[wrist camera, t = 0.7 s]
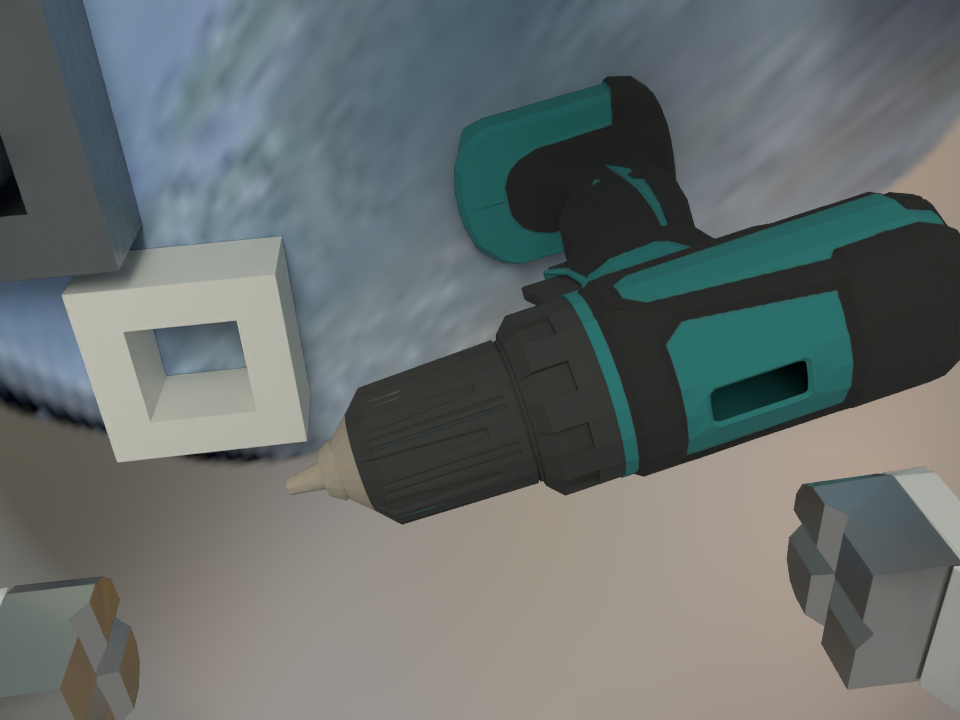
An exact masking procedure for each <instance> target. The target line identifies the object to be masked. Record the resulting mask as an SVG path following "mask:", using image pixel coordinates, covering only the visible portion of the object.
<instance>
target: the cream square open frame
mask: <svg viewBox="0 0 960 720" xmlns="http://www.w3.org/2000/svg"><path fill="white" fill-rule="evenodd" d="M62 298H63V301H64V304H65V307H66V310H67V313H68V316H69V319H70V322H71V325H72V328H73V331H74V334H75V337H76V340H77V343H78V346H79V349H80V352H81V355H82V358H83V361H84V364H85V367H86V370H87V373H88V376H89V379H90V382H91V385H92V388H93V391H94V394H95V397H96V400H97V403H98V406H99V409H100V412H101V415H102V418H103V421H104V424H105V427H106V430H107V433H108V436H109V439H110V442H111V445H112V448H113V451H114V454H115V457H116V460H117V462H126V461H135V460H143V459H152V458H162V457H171V456H180V455H189V454H197V453H206V452H215V451H224V450H233V449H242V448H251V447H260V446H269V445H278V444H287V443H296V442H305V441H307V435H308V421H309V408H310V389H309V384H308V378H307V373H306V367H305V362H304V356H303V351H302V345H301V340H300V334H299V329H298V323H297V318H296V312H295V307H294V301H293V296H292V290H291V285H290V279H289V274H288V268H287V263H286V257H285V252H284V246H283V241H282V236H280V237H269V238H259V239H248V240H237V241H227V242H216V243H206V244H195V245H185V246H174V247H164V248H153V249H143V250H132V251H128V253H127V255H126V257H125V259H124V261H123V263H122V265H121V267H120V269H119V271H115V272H104V273H94V274H84V275H73V277H72V279H71V280H70V282H69V284H68V285H67V287H66V289H65V290H64V292H63V294H62ZM227 321H237V325H238V330H239V334H240V339H241V343H242V348H243V352H244V357H245V361H246V366H247V368H239V369H229V370H220V371H210V372H201V373H191V374H181V375H172V376H166V374H165V371H164V367H163V363H162V360H161V356H160V353H159V349H158V346H157V342H156V338H155V335H154V331H153V329H158V328H168V327H178V326H188V325H198V324H208V323H217V322H227Z"/></svg>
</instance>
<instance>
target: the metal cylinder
mask: <svg viewBox="0 0 960 720" xmlns="http://www.w3.org/2000/svg"><path fill="white" fill-rule="evenodd" d="M13 173H14V172H13V169H12V166H11V163H10V161H9V158H8V155H7V152H6V149H5V146H4V143H3V140H2V137H1V134H0V187H1V186H2V185H3V184H4V183H5V182H6V181H7V180H8V178H9V177H10V176H11V175H12V174H13Z"/></svg>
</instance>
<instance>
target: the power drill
mask: <svg viewBox="0 0 960 720" xmlns="http://www.w3.org/2000/svg"><path fill="white" fill-rule="evenodd" d="M458 149H459V153H458V156H457V160H456V163H455V167H454V181H455V195H456V200H457V205H458V210H459V213H460V216H461V218H462V221H463V224H464V226H465V229H466V230H467V232H468V234H469V236H470V237H471V239H472V241H473V242H474V244H475V246H476V247H477V248H479V249H480V250H481V251H483V252H484V253H485V254H487V255H488V256H490V257H492V258H494V259H496V260H498V261H501V262H503V263H515V264H521V263H524V262H528V261H532V260H535V259H539V258H543V257H546V256H550V255H553V254H557V253H561V252H565V255H566V259H567V261H566V262H565V263H562V264H559V265H556V266H552V267H549V268H548V270H546V271H544V278H545V280H544V281H540V282H537V283H534V284H531V285H528V286H525V287H523V288H522V291H523V295H524V299H525V300H526V301H528V302H530V303H533V304H535V305H537V306H534V307H531V308H528V309H525V310H522V311H519V312H516V313H513V314H510V315H507V316H505V317H504V319H503V321H502V323H501V325H500V327H499V330H498V332H497V334H496V341H494V343H493V341H491V340H490V341H487V342H485V343H482V344H479V345H476V346H474V347H471V348H468V349H465V350H462V351H460V352H457V353H454V354H451V355H449V356H446V357H443V358H440V359H437V360H435V361H432V362H429V363H426V364H424V365H421V366H418V367H415V368H412V369H410V370H407V371H404V372H401V373H399V374H396V375H393V376H390V377H387V378H385V379H382V380H379V381H376V382H374V383H371V384H368V385H365V386H362V387H360V388H358V389H357V391H356V393H355V395H354V397H353V399H352V401H351V403H350V405H349V407H348V409H347V412H346V413H345V415H344V417H343V418H342V420H341V422H340V424H339V426H338V427H337V429H336V431H335V433H334V434H333V436H332V438H331V440H327V442H326V443H325V444H324V445H323V446H322V447H321V449H320V450H319V451H318V452H317V462H316V463H314V464H312V465H311V466H309V467H307V468H305V469H304V470H302V471H300V472H298V473H296V474H295V475H293V476H291V477H289V478H287V479H286V486H287V489H288V491H289V494H291V495H293V494H299V493H305V492H311V491H317V490H323V489H326V490H327V491H328V493H329V495H330V496H332V497H336V498H340V499H344V500H348V499H349V498H350V499H351V500H353V501H355V502H358V503H360V504H362V505H364V506H366V507H369V508H371V509H373V510H375V511H377V512H379V513H381V514H383V515H385V516H387V517H389V518H390V519H393V520H394V521H396V522H398V523H400V524H405V523H409V522H412V521H415V520H418V519H422V518H425V517H428V516H432V515H435V514H438V513H441V512H445V511H448V510H451V509H455V508H458V507H461V506H464V505H468V504H471V503H474V502H478V501H481V500H484V499H488V498H490V497H494V496H497V495H501V494H504V493H507V492H511V491H514V490H517V489H520V488H524V487H527V486H530V485H533V484H537V483H538V482H539V480H540V481H544V483H545V484H546V486H548V487H550V488H552V489H554V490H556V491H558V492H559V493H561V494H563V495H568V494H571V493H574V492H577V491H580V490H583V489H586V488H589V487H592V486H595V485H598V484H601V483H604V482H607V481H610V480H613V479H616V478H619V477H622V478H623V477H626V476H629V475H631V474H637V475H640V476H647V475H650V474H653V473H656V472H659V471H662V470H665V469H668V468H671V467H674V466H677V465H679V464H683V463H686V462H689V461H692V460H695V459H698V458H701V457H704V456H707V455H710V454H713V453H716V452H719V451H721V450H724V449H727V448H730V447H733V446H736V445H739V444H742V443H745V442H748V441H750V440H753V439H756V438H759V437H762V436H766V435H769V434H772V433H774V432H777V431H781V430H784V429H786V428H790V427H793V426H796V425H799V424H802V423H805V422H808V421H811V420H813V419H817V418H820V417H822V416H826V415H829V414H832V413H835V412H838V411H842V410H844V409H848V408H854V407H857V406H860V405H863V404H866V403H869V402H871V401H874V400H877V399H880V398H883V397H886V396H889V395H892V394H895V393H898V392H901V391H904V390H907V389H910V388H913V387H916V386H919V385H922V384H924V383H928V382H931V381H933V380H935V379H937V378H940V377H942V376H944V375H946V374H947V373H948V372H949V371H950V370H951V369H952V367H954V365H955V364H956V363H957V362H958V361H959V360H960V233H959V232H958V230H956V229H954V228H951V227H949V226H947V224H946V223H945V222H944V220H943V219H942V217H941V216H940V215H939V213H938V212H937V210H936V209H935V208H934V206H933V205H932V204H931V203H930V202H928V201H927V200H926V199H922V197H921V196H917V195H913V194H904V193H893V192H888V193H886V194H880V193H873V192H866V193H863V194H860V195H857V196H854V197H851V198H848V199H845V200H842V201H839V202H836V203H833V204H830V205H826V206H823V207H820V208H817V209H814V210H810V211H807V212H804V213H801V214H798V215H795V216H792V217H789V218H786V219H783V220H780V221H777V222H774V223H770V224H764V225H759V226H753V227H750V228H747V229H744V230H741V231H738V232H735V233H732V234H729V235H726V236H723V237H720V238H717V239H715V238H712V237H710V236H708V235H707V234H705V233H704V232H702V231H700V230H699V229H697V228H696V227H695V225H694V222H693V218H692V215H691V211H690V208H689V204H688V201H687V198H686V196H685V195H684V193H683V191H682V190H681V188H680V187H679V185H678V183H677V182H676V172H675V164H674V156H673V149H672V143H671V137H670V133H669V129H668V124H667V122H666V119H665V117H664V114H663V111H662V108H661V106H660V104H659V103H658V101H657V99H656V97H655V95H654V94H653V93H652V92H651V91H650V90H649V89H648V88H647V87H646V86H645V85H644V84H642V83H640V82H639V81H637V80H636V79H634V78H633V77H631V76H616V77H606V78H605V79H604V80H603V82H602V84H601V85H597V86H594V87H590V88H587V89H583V90H580V91H576V92H573V93H569V94H566V95H562V96H559V97H555V98H552V99H548V100H545V101H541V102H538V103H534V104H531V105H527V106H524V107H520V108H517V109H513V110H510V111H506V112H503V113H499V114H496V115H493V116H489V117H486V118H482V119H480V120H478V121H476V122H474V123H473V124H471V125H469V126H467V127H466V128H465V129H463V131H462V136H461V140H460V144H459V148H458Z"/></svg>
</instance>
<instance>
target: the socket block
mask: <svg viewBox="0 0 960 720" xmlns="http://www.w3.org/2000/svg"><path fill="white" fill-rule="evenodd" d="M0 134H1V137H2V140H3V143H4V146H5V149H6V152H7V155H8V158H9V161H10V163H11V166H12V169H13V172H14V175H15V176H10V177H9V178H8V180H7V181H6V182H5V183H4V184H3V185H2V186H1V187H0V283H1V282H11V281H21V280H32V279H42V278H52V277H63V276H73V275H84V274H94V273H104V272H115V271H119V269H120V267H121V265H122V263H123V261H124V259H125V257H126V255H127V253H128V251H129V250H130V248H131V246H132V244H133V242H134V240H135V238H136V236H137V234H138V232H139V230H140V228H141V226H142V222H141V218H140V214H139V211H138V207H137V203H136V199H135V196H134V192H133V188H132V184H131V181H130V177H129V173H128V170H127V166H126V162H125V158H124V155H123V151H122V147H121V143H120V140H119V136H118V132H117V129H116V125H115V121H114V117H113V114H112V110H111V106H110V102H109V99H108V95H107V91H106V88H105V84H104V80H103V76H102V73H101V69H100V65H99V61H98V58H97V54H96V50H95V47H94V43H93V39H92V35H91V32H90V28H89V24H88V21H87V17H86V13H85V9H84V6H83V2H82V0H0Z"/></svg>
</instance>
